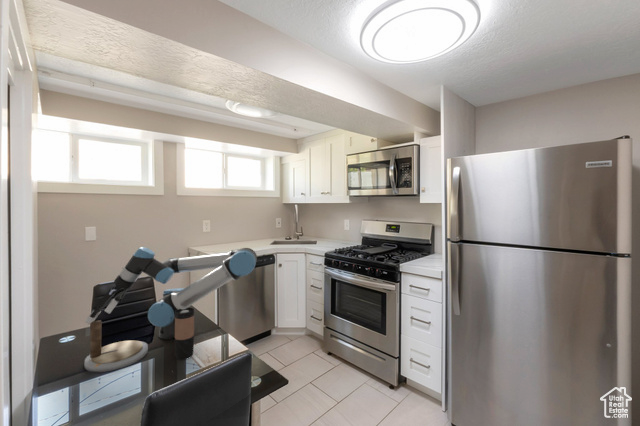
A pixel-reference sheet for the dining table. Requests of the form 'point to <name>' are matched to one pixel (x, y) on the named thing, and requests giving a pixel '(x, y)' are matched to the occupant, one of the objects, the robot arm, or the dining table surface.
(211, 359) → the dining table surface
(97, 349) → the dial
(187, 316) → the travel mug
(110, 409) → the dining table surface
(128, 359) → the base
